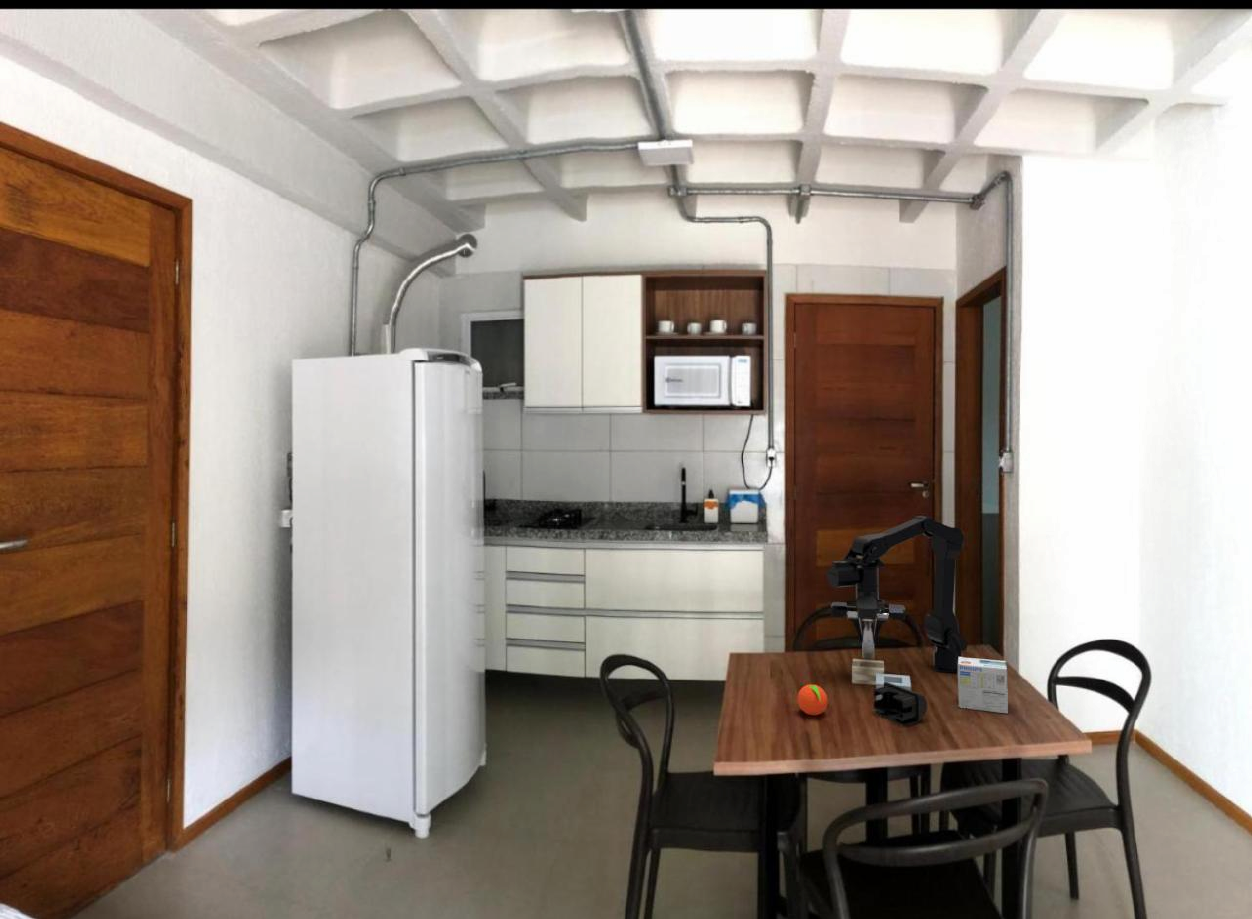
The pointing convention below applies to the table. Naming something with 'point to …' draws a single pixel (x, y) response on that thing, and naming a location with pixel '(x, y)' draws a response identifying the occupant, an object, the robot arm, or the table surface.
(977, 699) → the light bulb box
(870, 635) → the cylinder
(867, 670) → the birch block
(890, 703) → the end cap
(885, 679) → the slate block
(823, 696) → the clementine
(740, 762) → the table surface
